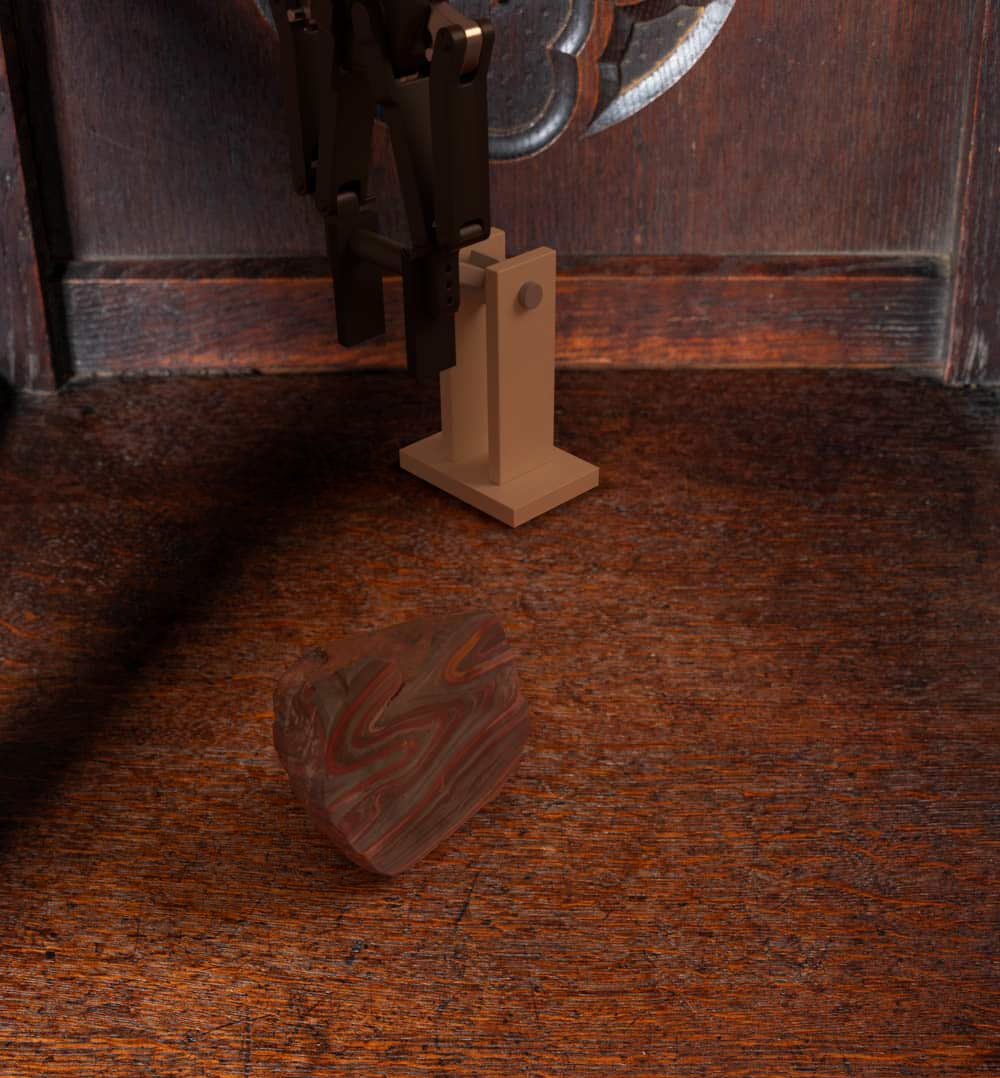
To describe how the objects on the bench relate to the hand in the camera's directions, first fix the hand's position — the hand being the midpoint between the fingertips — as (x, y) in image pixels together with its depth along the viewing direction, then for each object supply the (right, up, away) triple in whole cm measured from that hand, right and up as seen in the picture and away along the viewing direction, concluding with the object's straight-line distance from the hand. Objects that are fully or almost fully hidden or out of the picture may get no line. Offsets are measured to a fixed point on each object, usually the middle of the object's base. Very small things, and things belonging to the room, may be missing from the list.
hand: (396, 353), depth 76 cm
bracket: (+5, -5, +10) cm, 13 cm away
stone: (0, -24, -12) cm, 27 cm away
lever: (+2, +3, 0) cm, 4 cm away
